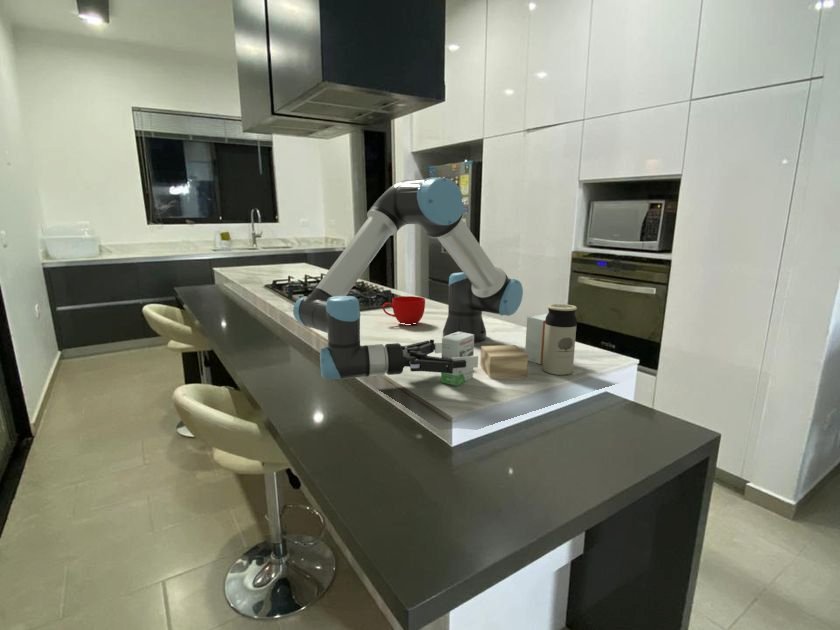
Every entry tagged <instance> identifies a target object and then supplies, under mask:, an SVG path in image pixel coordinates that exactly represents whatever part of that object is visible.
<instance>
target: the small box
mask: <svg viewBox="0 0 840 630" xmlns="http://www.w3.org/2000/svg"><path fill="white" fill-rule="evenodd" d="M547 314H548V313H544V314H535V315H532V316H527V317H526V330H525V331H526V332H525V333H526V334H525V348H524V353H525V354H527V355H528V361H529V362H532V363H535V364H538V365H543V351H544V335H545V320H546V316H547Z"/></svg>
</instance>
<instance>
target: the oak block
mask: <svg viewBox="0 0 840 630" xmlns="http://www.w3.org/2000/svg"><path fill="white" fill-rule="evenodd" d="M528 361H529V360H528V355H527V354H525V351H523V350H522V349H521V348H520V347H518V346H517V345H516V344H513V345H510V344H508V345H507V344H506V345H505V344H504V345H481V346H480V364H479V366H480V368H481V369H482V370H483V372H484V373H485V374H486V375H487V376H488V378H489V379H495V378H496V379H497V378H498V379H499V378H501V379H503V378H526V377H528V376H527V375H528V364H529V363H528Z"/></svg>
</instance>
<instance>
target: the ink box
mask: <svg viewBox="0 0 840 630" xmlns="http://www.w3.org/2000/svg"><path fill="white" fill-rule="evenodd" d="M441 342H442V353H441V358H446V359H451V358H452V357H465V356H475V355H474V348H475V347H474V346H475V342H474V334H469V333H464V332H456V333H453V334H450V335H446V336H444V337H443V336H442V338H441ZM447 367H448V365H447ZM440 374H441V375H440V383H443V384H447V385H452V386H455V387H457V386H460V385H462V384H463V383H465V382H467V381H468V380H470V379H472V378H473V377H474V375H473V374H474V368H463V369H453V373H452V374H449V373H440Z"/></svg>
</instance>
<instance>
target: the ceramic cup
mask: <svg viewBox="0 0 840 630" xmlns="http://www.w3.org/2000/svg"><path fill="white" fill-rule="evenodd" d="M387 305H388V306H391V308H392V313H393V314H392V313H389V312H388V311H386V309H385V307H386V306H387ZM425 308H426V298H424V297H420V296H412V295H411V296H409V295H408V296H407V295H406V296H396V297H393V298H392V299H391V302H385V303H383V305H382V310H383V312H384V314H386V315H387V316H389V317H394V318H395V319H396V320H397V322H398V323H399V322H400V323H405V324H413V323H417V324H418V323H419V322H420V321H421V319H422V318H423V316H424V313H425Z"/></svg>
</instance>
